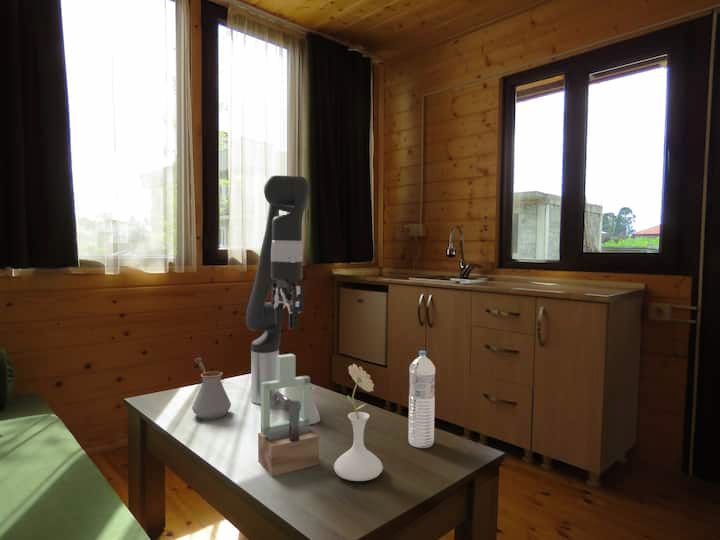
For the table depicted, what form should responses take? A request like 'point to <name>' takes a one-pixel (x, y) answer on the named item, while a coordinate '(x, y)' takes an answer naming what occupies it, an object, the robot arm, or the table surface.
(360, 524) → the table surface
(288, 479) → the table surface
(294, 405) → the bent wire
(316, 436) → the wooden block
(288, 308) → the robot arm
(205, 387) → the coffee pot
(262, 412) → the square frame with post
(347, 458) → the flower in vase
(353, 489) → the table surface
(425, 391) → the water bottle
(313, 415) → the flask
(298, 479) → the table surface
